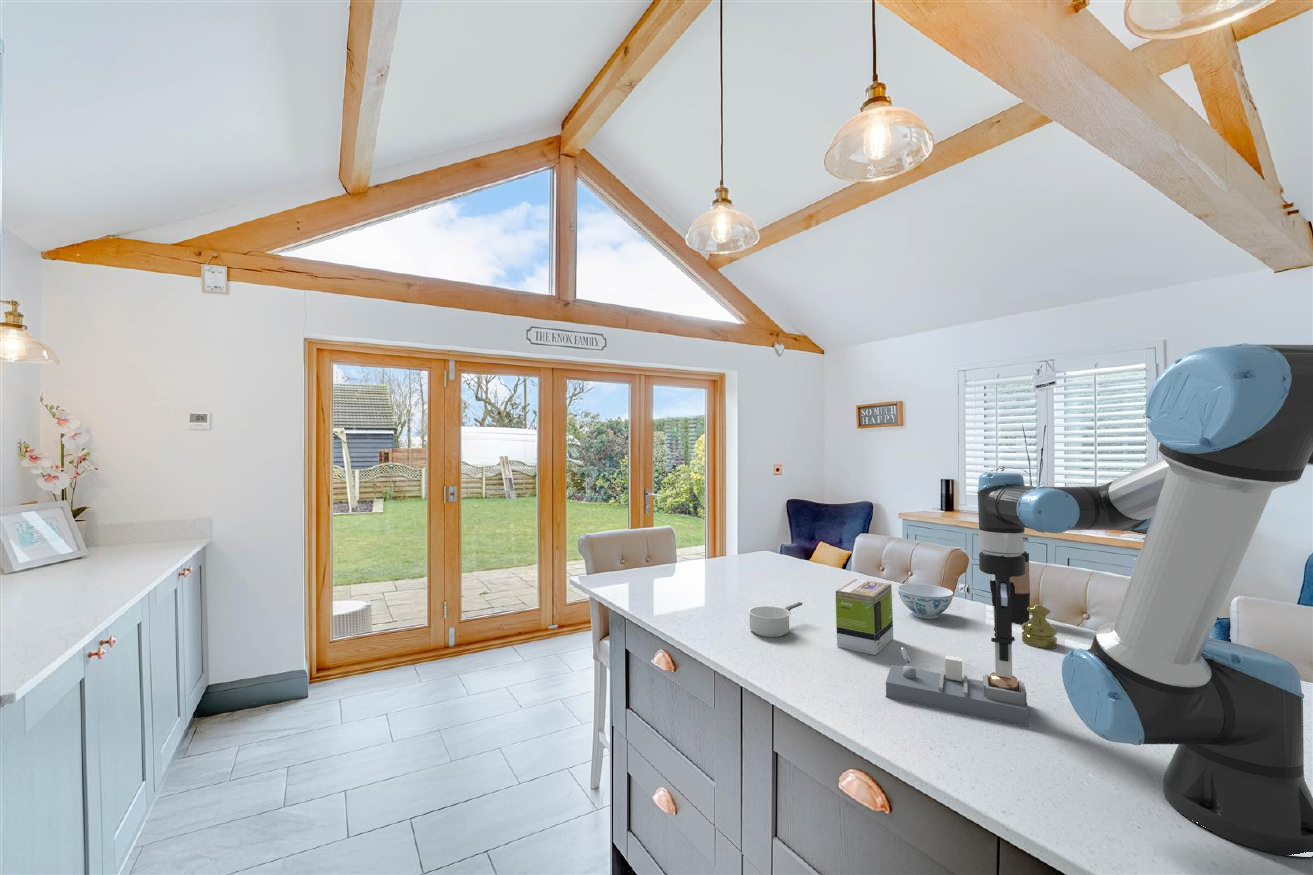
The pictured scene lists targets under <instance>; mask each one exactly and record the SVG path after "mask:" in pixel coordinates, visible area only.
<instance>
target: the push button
mask: <svg viewBox="0 0 1313 875" xmlns="http://www.w3.org/2000/svg"><path fill="white" fill-rule="evenodd" d="M989 675H990V686H991V687H995V688H1000V689H1006V690H1011V691H1016V692H1018V684H1017V680H1018V678H1017V677H1016V676H1015V675H1013V674H1012V678H1007V677H1001V676H996V675H995V671H994V672H991V673H990V674H989Z"/></svg>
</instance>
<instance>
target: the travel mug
mask: <svg viewBox="0 0 1313 875" xmlns="http://www.w3.org/2000/svg"><path fill="white" fill-rule="evenodd" d="M1021 555H1023V556H1024V557H1025V574H1024V575H1023V576H1019V577H1014V576H1012V577H1010V582H1012V583H1014V586H1015V595H1014V608H1013V609H1012V622H1015V623H1014V624H1019V623H1024V622H1027V621H1028V620H1029V619H1030V614H1031V612H1029V611H1028V610H1027V607H1028V606H1031V602H1030V600H1031V583H1030V582H1031V581H1030V553H1029V552H1027V551H1025V552H1024V553H1022V554H1021Z"/></svg>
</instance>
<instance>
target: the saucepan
mask: <svg viewBox="0 0 1313 875" xmlns="http://www.w3.org/2000/svg"><path fill="white" fill-rule="evenodd" d="M800 606H803V602H800V601H799V602H798V601H797V602H796V603H793V604H790V605H788V606H786V607H780V606H774V605H758V606H753V607H750V608H748V609H747V610H748V611H747V612H748V613H749V629H750V631H752V632H753V633H755V634H756V635H758V636H761V637H766V638H767V637H768V638H778V637H783V636H784V635H786V634H788V633H789V632H790V615H791V612H792V610H793V609H795V608H798V607H800Z"/></svg>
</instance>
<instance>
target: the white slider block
mask: <svg viewBox="0 0 1313 875" xmlns="http://www.w3.org/2000/svg"><path fill="white" fill-rule="evenodd" d="M944 659H945V660H944V664H945V668H944V669H945V670H944V674H945V678H946V679H952V680H957V681H962V677H963V658H962V657H957V656H951V655H945V658H944Z"/></svg>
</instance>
